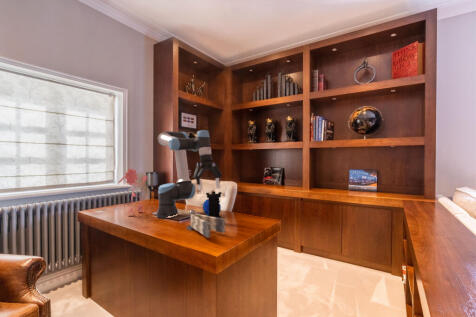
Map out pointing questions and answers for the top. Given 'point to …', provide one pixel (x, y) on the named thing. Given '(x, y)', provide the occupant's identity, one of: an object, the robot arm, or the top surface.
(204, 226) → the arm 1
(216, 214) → the chess piece
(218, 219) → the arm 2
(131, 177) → the figurine
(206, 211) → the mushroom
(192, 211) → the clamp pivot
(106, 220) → the top surface
